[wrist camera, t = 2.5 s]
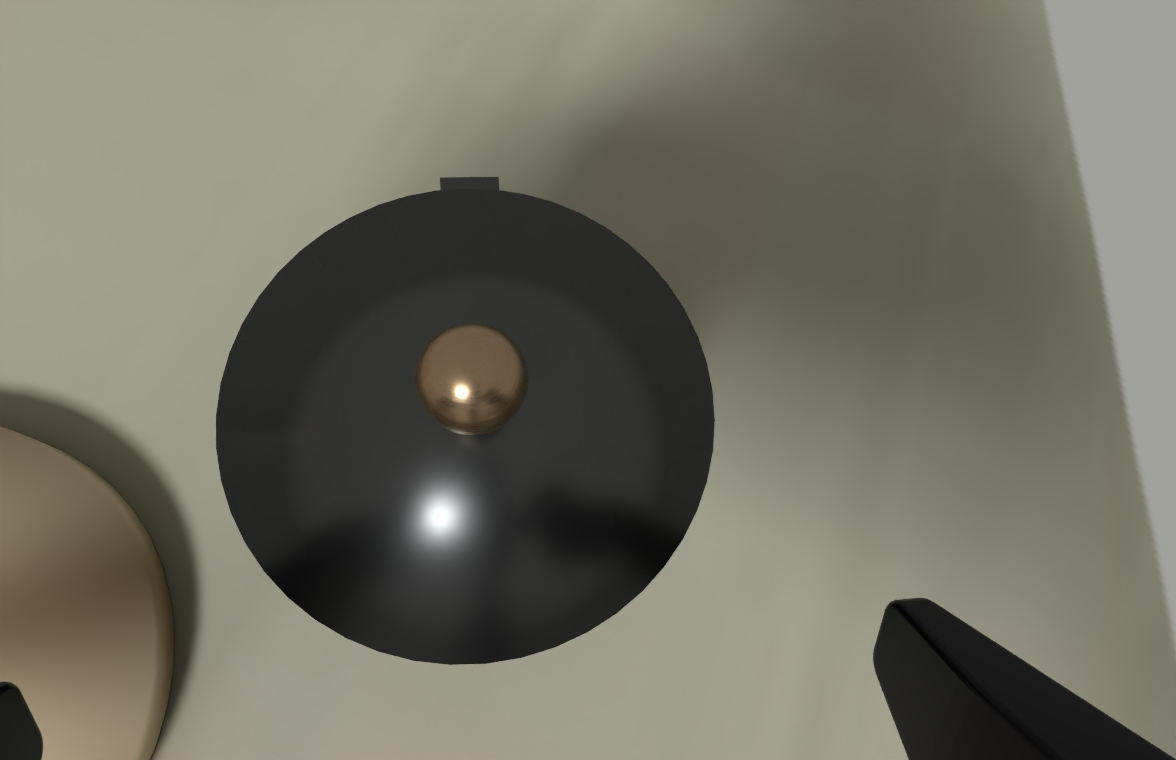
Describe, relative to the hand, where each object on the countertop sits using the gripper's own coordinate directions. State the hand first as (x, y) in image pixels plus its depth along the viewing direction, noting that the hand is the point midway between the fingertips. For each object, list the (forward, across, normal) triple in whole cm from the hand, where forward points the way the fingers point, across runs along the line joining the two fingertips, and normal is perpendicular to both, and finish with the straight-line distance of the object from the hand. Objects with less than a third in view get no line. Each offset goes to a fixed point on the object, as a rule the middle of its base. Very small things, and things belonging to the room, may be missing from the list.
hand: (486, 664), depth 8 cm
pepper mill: (+10, 0, +6) cm, 11 cm away
